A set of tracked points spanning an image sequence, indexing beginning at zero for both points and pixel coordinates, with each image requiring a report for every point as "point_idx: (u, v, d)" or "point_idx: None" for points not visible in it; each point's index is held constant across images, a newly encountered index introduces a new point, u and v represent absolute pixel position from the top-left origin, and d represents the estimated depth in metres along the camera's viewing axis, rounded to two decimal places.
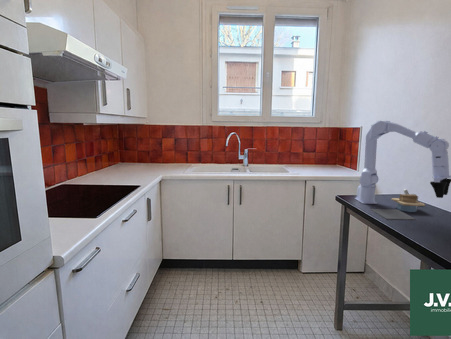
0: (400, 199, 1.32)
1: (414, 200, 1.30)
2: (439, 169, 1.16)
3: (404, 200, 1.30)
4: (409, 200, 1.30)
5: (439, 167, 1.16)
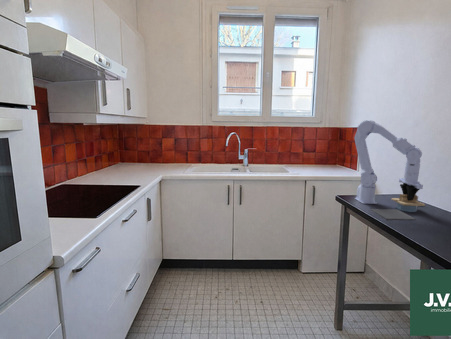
0: (400, 199, 1.32)
1: (414, 200, 1.30)
2: (415, 176, 1.27)
3: (404, 200, 1.30)
4: (409, 200, 1.30)
5: (416, 174, 1.26)
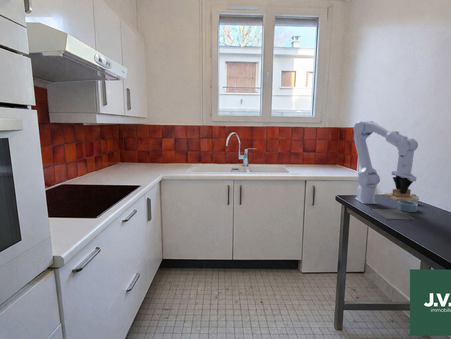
0: (393, 194, 1.27)
1: (408, 194, 1.25)
2: (409, 168, 1.21)
3: (397, 195, 1.25)
4: (402, 195, 1.25)
5: (409, 166, 1.21)
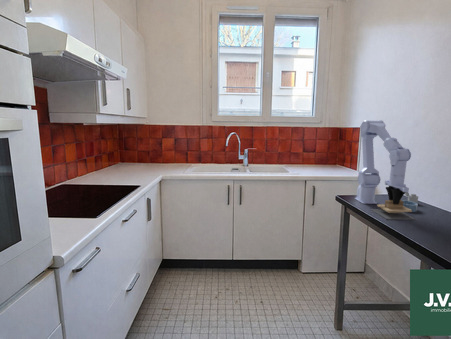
0: (386, 205, 1.24)
1: (401, 205, 1.23)
2: (401, 178, 1.19)
3: (390, 206, 1.23)
4: (395, 206, 1.23)
5: (401, 176, 1.19)
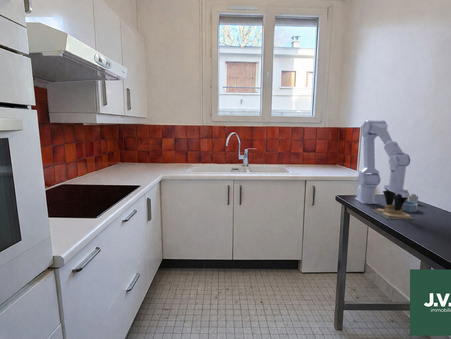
0: (385, 210, 1.25)
1: (400, 211, 1.23)
2: (400, 183, 1.19)
3: (389, 211, 1.23)
4: (394, 211, 1.23)
5: (401, 181, 1.19)
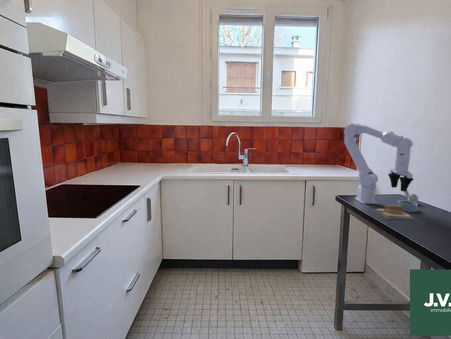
0: (385, 210, 1.25)
1: (400, 211, 1.23)
2: (405, 166, 1.28)
3: (389, 211, 1.23)
4: (394, 211, 1.23)
5: (406, 164, 1.27)
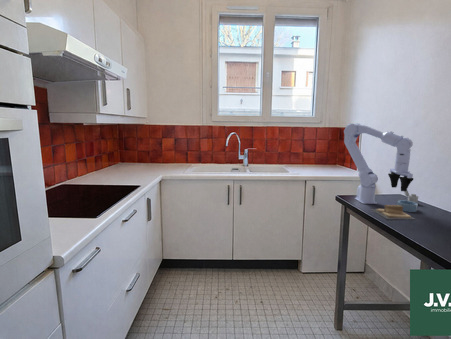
0: (385, 210, 1.25)
1: (400, 211, 1.23)
2: (406, 165, 1.28)
3: (389, 211, 1.23)
4: (394, 211, 1.23)
5: (406, 164, 1.28)
